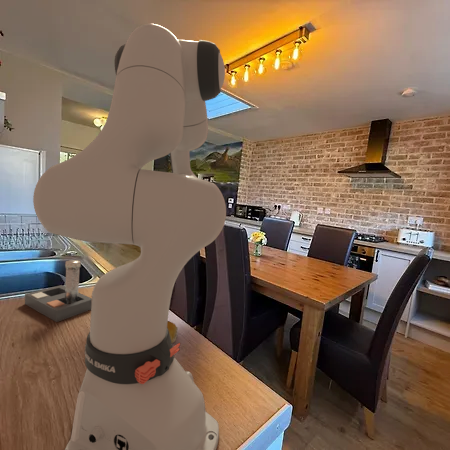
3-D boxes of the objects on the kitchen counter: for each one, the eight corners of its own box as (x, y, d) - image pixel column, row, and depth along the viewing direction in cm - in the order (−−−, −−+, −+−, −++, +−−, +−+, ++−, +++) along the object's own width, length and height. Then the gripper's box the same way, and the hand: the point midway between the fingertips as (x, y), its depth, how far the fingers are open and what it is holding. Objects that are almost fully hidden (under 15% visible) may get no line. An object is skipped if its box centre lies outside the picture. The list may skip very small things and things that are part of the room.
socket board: (92, 308, 75) (93, 298, 74) (56, 322, 66) (56, 309, 65) (61, 294, 82) (61, 284, 82) (24, 304, 73) (25, 293, 73)
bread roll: (143, 328, 67) (144, 314, 67) (178, 330, 68) (179, 316, 68) (135, 347, 59) (136, 330, 59) (174, 349, 60) (176, 333, 60)
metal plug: (80, 309, 74) (83, 262, 72) (68, 313, 70) (70, 264, 69) (73, 305, 75) (75, 259, 74) (60, 309, 72) (62, 261, 71)
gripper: (153, 205, 90) (113, 203, 81) (186, 211, 76) (142, 209, 66) (151, 223, 91) (111, 223, 81) (184, 232, 76) (140, 233, 67)
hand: (125, 217), depth 74 cm, fingers open, 8 cm apart
